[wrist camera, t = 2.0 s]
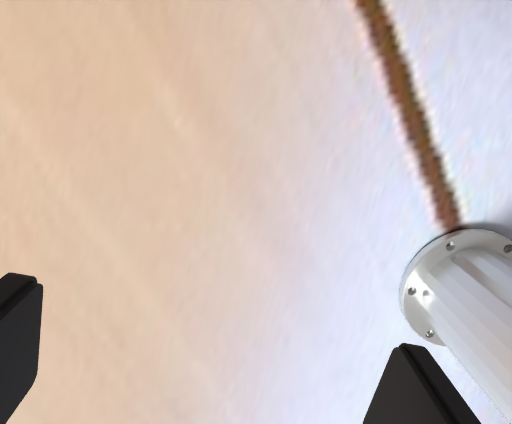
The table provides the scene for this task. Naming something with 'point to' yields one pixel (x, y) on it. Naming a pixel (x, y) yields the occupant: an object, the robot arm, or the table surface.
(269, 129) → the table surface
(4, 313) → the robot arm
